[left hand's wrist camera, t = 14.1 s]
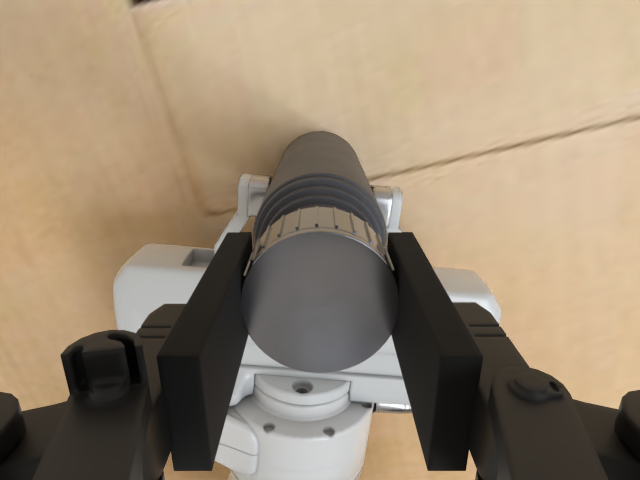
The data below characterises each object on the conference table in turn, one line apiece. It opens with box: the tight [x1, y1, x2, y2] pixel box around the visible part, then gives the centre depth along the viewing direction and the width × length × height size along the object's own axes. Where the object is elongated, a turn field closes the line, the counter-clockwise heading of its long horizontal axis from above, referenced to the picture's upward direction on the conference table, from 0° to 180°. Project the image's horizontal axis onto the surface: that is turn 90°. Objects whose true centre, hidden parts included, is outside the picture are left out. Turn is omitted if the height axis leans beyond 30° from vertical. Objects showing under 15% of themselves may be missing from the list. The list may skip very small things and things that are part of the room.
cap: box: [241, 206, 399, 373], centre depth 13 cm, size 4×4×2 cm
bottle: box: [253, 131, 386, 248], centre depth 21 cm, size 5×5×17 cm
